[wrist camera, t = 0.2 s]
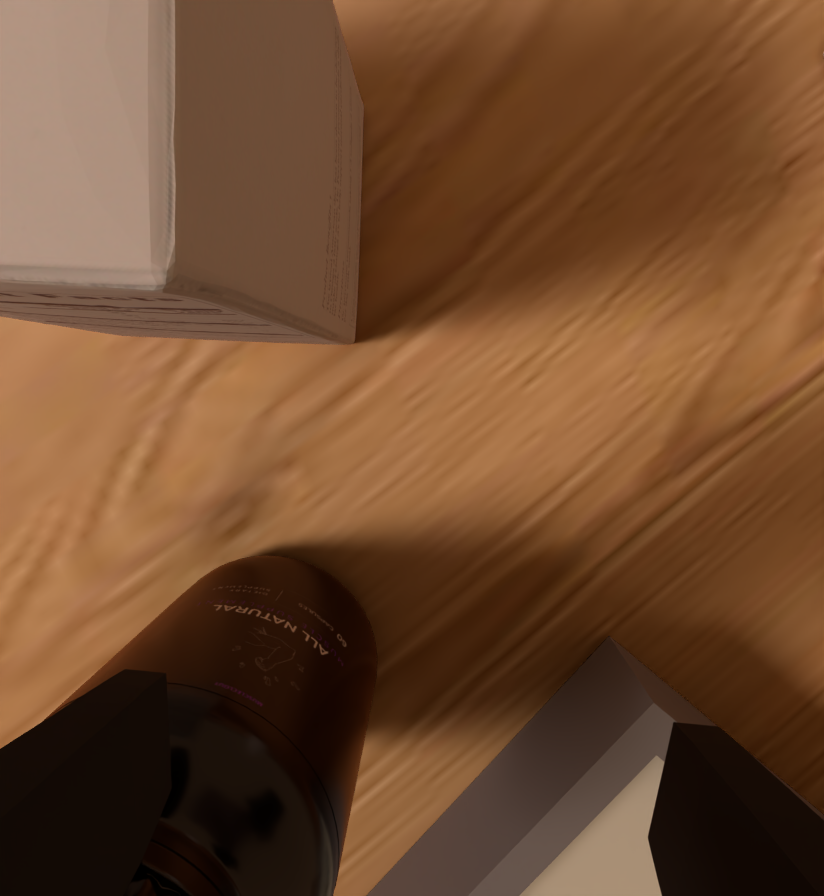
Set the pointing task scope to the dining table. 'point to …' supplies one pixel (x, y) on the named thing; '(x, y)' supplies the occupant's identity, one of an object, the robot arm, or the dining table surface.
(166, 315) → the supplement box
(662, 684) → the open box
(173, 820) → the supplement bottle
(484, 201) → the dining table surface
